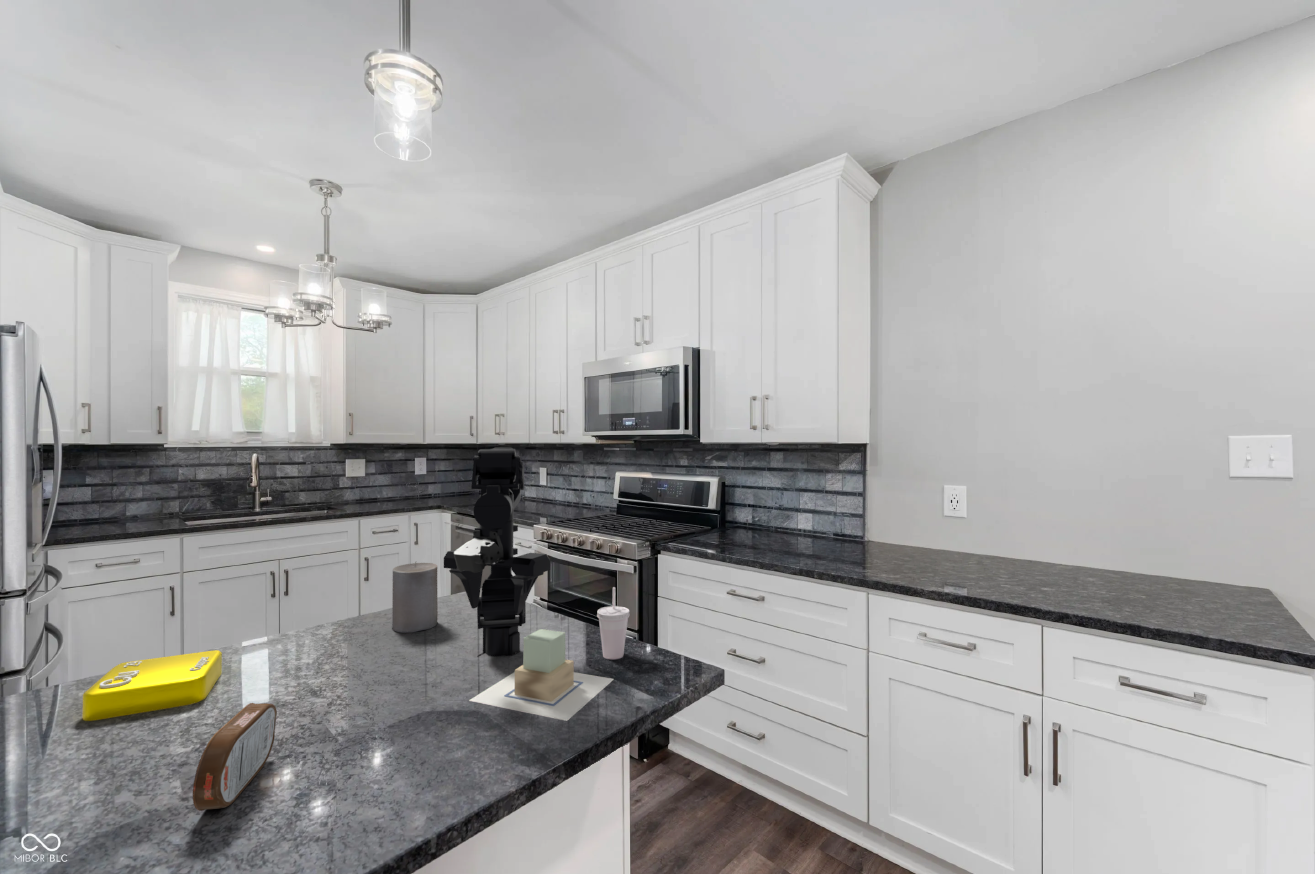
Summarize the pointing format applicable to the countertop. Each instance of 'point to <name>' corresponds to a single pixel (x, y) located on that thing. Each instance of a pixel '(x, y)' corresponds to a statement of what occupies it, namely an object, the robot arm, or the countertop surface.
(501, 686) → the white mat
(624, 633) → the smoothie
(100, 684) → the element tile
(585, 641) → the countertop surface
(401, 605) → the pillar candle
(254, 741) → the tin
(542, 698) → the maple block
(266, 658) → the countertop surface
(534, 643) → the sage block
